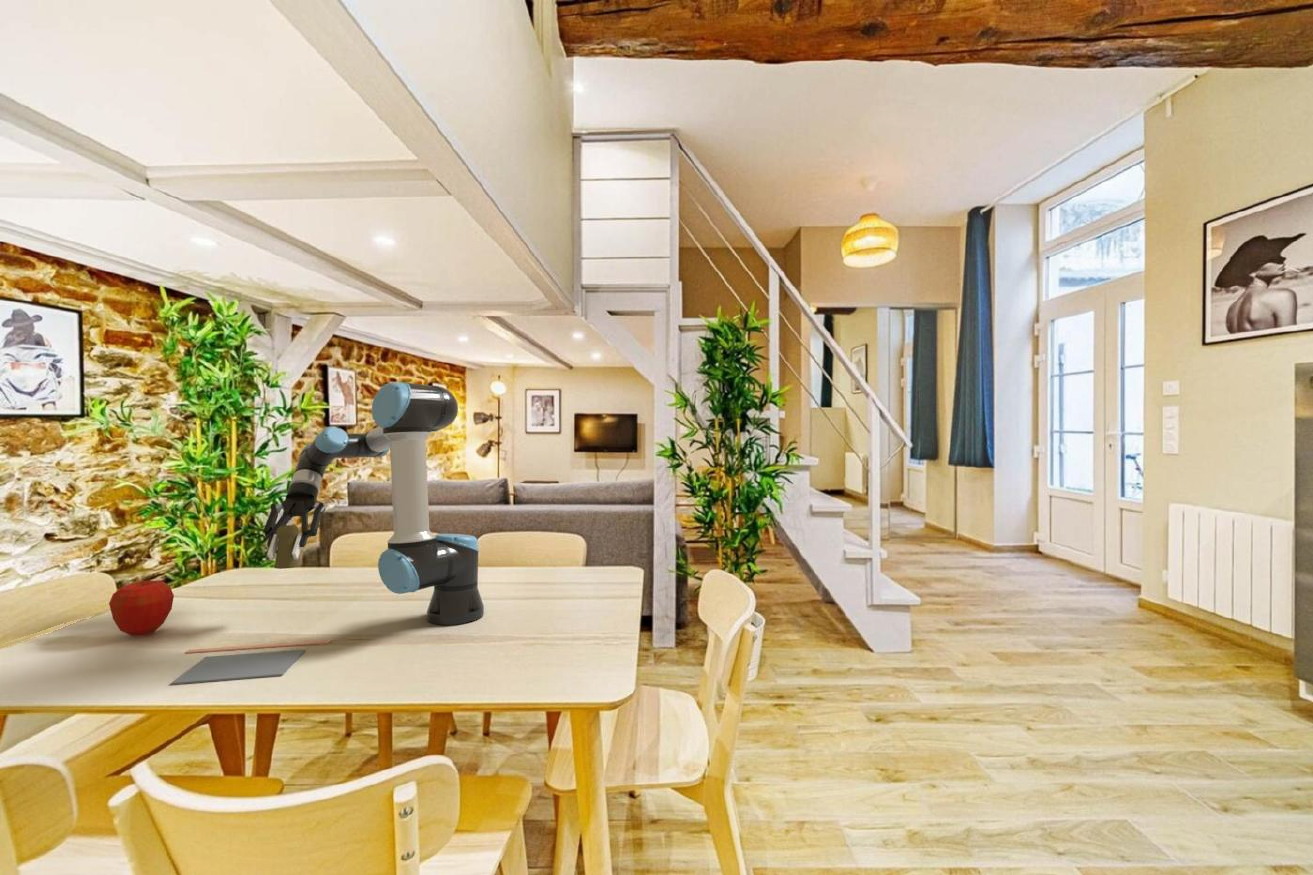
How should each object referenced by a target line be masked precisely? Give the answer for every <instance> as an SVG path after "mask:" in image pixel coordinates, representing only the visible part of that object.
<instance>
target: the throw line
mask: <svg viewBox="0 0 1313 875" xmlns="http://www.w3.org/2000/svg"><path fill="white" fill-rule="evenodd" d="M331 642H332V639H326V640H312V641H311V640H309V641H297V642H294V641H293V642H284V643H282V642H281V643H268V644H267V643H266V644H255V645H253V644H252V645H237V646H228V647H227V646H226V647H225V646H223V647H211V648H210V647H209V648H194V649H188V650H186V651H185V652H184V654H186V653H187V654H200V653H212V652H213V651H215V652H227V651H228V650H229V651H238V650H239V651H242V649H243V650H254V649H255V650H256V649H268V648H269V649H270V648H281V647H295V646H296V647H297V646H310V645H325V644H326V645H329V644H330V643H331ZM213 653H214V652H213Z"/></svg>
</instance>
